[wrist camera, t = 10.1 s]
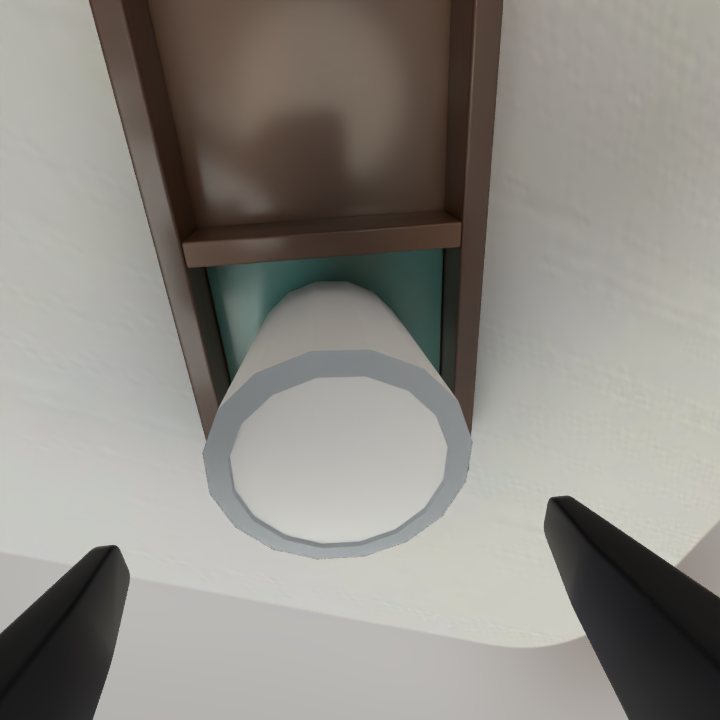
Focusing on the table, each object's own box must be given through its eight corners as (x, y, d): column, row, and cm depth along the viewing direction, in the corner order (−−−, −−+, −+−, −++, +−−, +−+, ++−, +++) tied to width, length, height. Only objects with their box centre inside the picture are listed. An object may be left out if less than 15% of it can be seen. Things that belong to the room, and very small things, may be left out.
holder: (231, 453, 21) (220, 498, 18) (89, -149, 11) (28, -224, 9) (450, 431, 21) (469, 472, 19) (479, -160, 12) (522, -234, 10)
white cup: (427, 404, 19) (480, 537, 13) (269, 436, 19) (248, 583, 13) (407, 245, 16) (465, 322, 10) (217, 283, 16) (156, 384, 10)
